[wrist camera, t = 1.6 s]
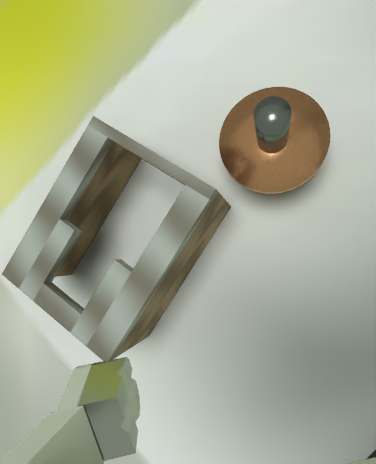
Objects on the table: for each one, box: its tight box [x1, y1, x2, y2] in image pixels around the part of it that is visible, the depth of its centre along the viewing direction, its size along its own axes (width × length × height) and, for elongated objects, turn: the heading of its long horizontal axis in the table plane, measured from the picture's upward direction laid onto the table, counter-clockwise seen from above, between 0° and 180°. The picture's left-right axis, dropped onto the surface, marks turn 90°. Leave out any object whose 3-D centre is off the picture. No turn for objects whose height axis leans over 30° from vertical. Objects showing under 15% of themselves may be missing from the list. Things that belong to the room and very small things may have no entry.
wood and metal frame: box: [2, 116, 231, 361], centre depth 34 cm, size 18×14×10 cm
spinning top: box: [219, 87, 330, 194], centre depth 30 cm, size 10×10×12 cm
